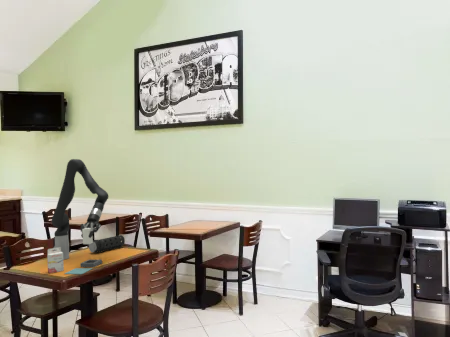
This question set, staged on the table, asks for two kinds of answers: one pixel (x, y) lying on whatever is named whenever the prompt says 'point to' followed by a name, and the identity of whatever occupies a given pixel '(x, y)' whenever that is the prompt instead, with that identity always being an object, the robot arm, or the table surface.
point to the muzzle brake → (107, 244)
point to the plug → (87, 236)
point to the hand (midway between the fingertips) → (86, 237)
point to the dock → (91, 263)
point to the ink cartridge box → (55, 260)
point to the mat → (78, 271)
